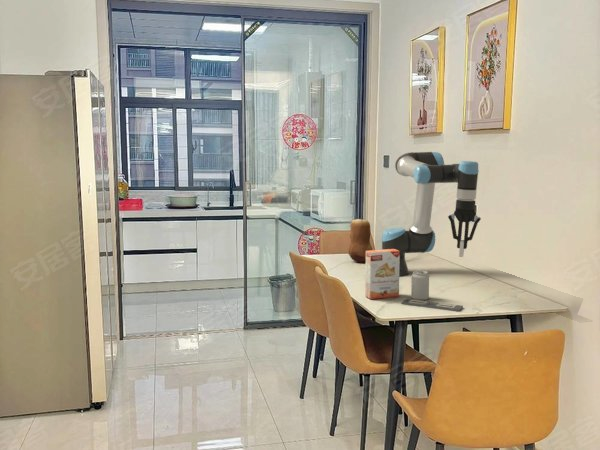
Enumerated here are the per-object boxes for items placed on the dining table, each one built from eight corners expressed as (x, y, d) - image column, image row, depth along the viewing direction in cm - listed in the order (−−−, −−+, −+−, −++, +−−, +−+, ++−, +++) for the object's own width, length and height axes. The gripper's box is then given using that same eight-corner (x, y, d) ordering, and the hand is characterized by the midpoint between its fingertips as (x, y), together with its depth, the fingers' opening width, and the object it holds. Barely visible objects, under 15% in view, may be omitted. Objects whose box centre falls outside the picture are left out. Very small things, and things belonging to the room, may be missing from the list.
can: (431, 298, 242) (432, 271, 240) (424, 302, 236) (424, 274, 234) (416, 295, 247) (416, 269, 245) (408, 299, 241) (408, 272, 239)
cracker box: (370, 300, 241) (370, 252, 238) (365, 296, 247) (364, 250, 244) (400, 297, 245) (400, 250, 242) (393, 293, 251) (394, 248, 248)
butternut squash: (372, 259, 327) (372, 217, 324) (373, 264, 314) (372, 220, 311) (348, 259, 329) (348, 217, 325) (348, 264, 316) (347, 220, 312)
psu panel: (406, 300, 239) (407, 298, 239) (463, 307, 226) (463, 305, 226) (401, 303, 234) (401, 301, 234) (458, 311, 221) (458, 309, 221)
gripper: (483, 199, 226) (478, 256, 231) (450, 197, 231) (446, 252, 236) (481, 201, 220) (476, 260, 224) (448, 199, 225) (443, 256, 229)
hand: (461, 256), depth 230 cm, fingers closed
